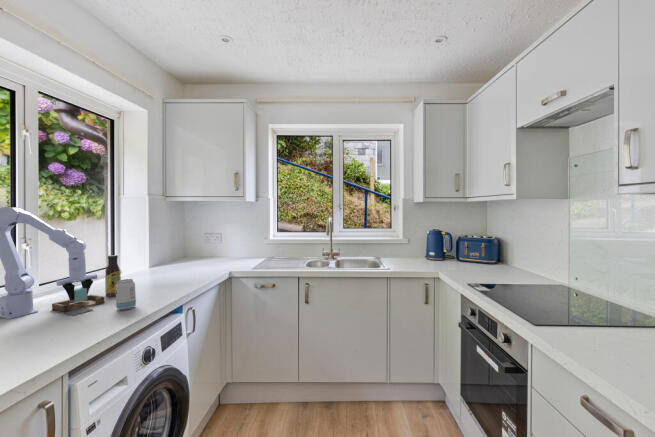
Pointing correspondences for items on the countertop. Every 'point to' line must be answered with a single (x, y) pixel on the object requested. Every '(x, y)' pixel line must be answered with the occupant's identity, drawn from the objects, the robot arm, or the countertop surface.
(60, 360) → the countertop surface
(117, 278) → the sauce bottle
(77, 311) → the rubber mat
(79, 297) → the teal block
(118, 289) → the beverage can
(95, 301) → the parts box
